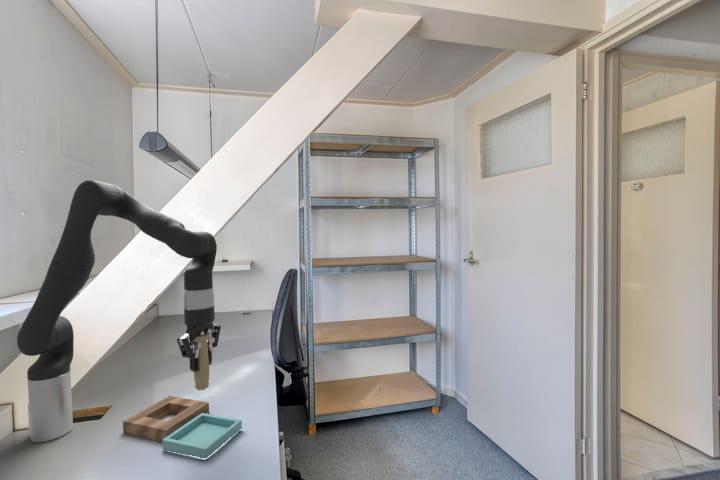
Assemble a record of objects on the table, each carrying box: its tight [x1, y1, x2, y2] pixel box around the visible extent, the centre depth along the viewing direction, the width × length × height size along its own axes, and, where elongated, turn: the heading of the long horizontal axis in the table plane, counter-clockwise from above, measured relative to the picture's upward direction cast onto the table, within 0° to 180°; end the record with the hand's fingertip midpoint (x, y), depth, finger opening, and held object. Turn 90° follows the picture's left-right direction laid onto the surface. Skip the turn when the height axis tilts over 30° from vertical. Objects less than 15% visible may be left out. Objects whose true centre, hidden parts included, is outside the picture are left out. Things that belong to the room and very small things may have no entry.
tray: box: [162, 413, 243, 458], centre depth 97 cm, size 14×14×3 cm
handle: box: [192, 333, 210, 391], centre depth 96 cm, size 5×6×15 cm
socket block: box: [122, 395, 210, 443], centre depth 106 cm, size 16×16×4 cm
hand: (201, 367), depth 96 cm, fingers closed on handle, 4 cm apart
